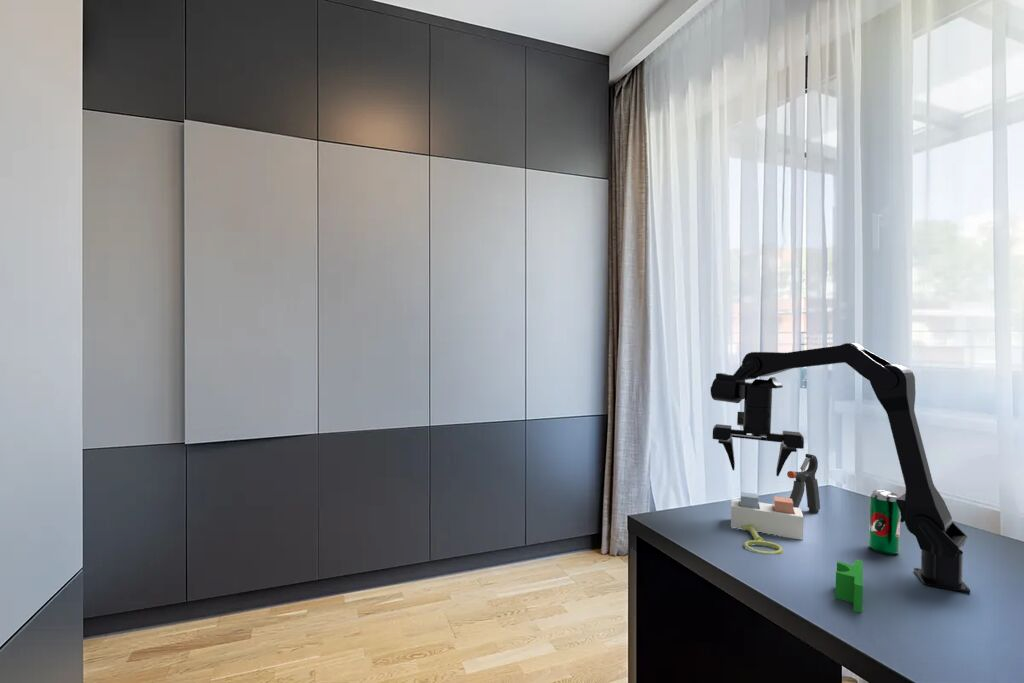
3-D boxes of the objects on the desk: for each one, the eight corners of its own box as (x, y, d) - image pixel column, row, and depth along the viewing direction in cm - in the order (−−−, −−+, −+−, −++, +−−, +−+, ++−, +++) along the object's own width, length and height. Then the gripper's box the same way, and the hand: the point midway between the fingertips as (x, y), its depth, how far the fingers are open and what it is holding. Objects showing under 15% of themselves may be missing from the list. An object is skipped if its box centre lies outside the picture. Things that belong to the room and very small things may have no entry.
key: (751, 532, 114) (751, 523, 114) (787, 557, 102) (788, 546, 102) (721, 534, 113) (721, 524, 113) (754, 558, 101) (755, 548, 101)
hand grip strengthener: (781, 517, 123) (782, 456, 123) (811, 510, 129) (813, 452, 129) (790, 520, 121) (791, 458, 121) (820, 513, 127) (822, 453, 127)
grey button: (757, 518, 114) (758, 498, 114) (740, 515, 116) (740, 496, 116) (757, 513, 118) (757, 494, 117) (740, 511, 119) (740, 491, 119)
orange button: (792, 523, 111) (793, 503, 111) (774, 521, 113) (775, 500, 113) (791, 518, 115) (791, 498, 115) (773, 516, 116) (774, 496, 116)
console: (802, 539, 109) (803, 517, 109) (730, 528, 115) (731, 506, 115) (799, 529, 115) (800, 508, 115) (731, 519, 121) (731, 498, 121)
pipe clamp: (836, 580, 92) (837, 555, 92) (861, 586, 90) (862, 560, 90) (834, 606, 82) (835, 578, 82) (862, 613, 80) (863, 585, 80)
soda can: (903, 557, 101) (904, 498, 101) (873, 553, 103) (875, 495, 103) (893, 547, 106) (895, 491, 106) (865, 543, 108) (866, 488, 108)
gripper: (800, 405, 120) (797, 470, 120) (716, 398, 128) (714, 459, 128) (805, 411, 110) (802, 482, 110) (713, 403, 118) (711, 470, 118)
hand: (755, 472), depth 117 cm, fingers open, 9 cm apart
